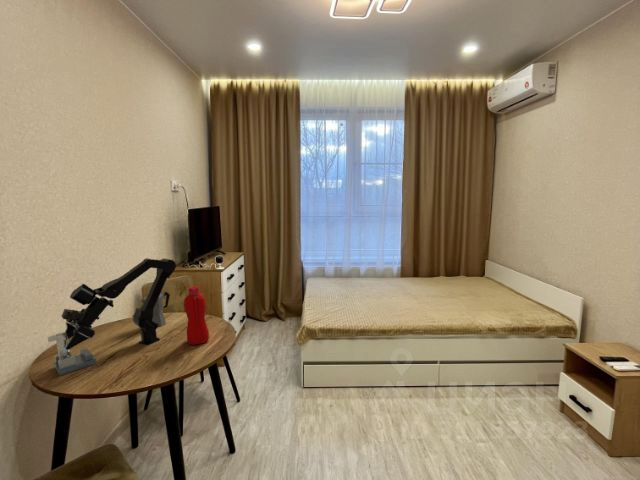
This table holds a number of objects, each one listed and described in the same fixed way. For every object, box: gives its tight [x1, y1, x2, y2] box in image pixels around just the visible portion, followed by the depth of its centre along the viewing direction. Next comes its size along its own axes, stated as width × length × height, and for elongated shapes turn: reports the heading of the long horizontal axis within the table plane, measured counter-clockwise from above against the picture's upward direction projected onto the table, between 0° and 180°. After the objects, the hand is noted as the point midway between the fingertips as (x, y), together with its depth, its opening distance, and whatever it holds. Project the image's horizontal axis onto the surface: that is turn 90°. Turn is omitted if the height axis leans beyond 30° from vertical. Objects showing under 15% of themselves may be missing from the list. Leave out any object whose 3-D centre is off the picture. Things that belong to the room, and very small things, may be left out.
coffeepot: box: [140, 291, 171, 328], centre depth 178 cm, size 15×9×18 cm, turn 147°
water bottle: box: [183, 286, 210, 346], centre depth 154 cm, size 9×11×25 cm
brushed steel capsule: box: [47, 331, 71, 360], centre depth 133 cm, size 6×4×12 cm, turn 137°
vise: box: [53, 348, 97, 376], centre depth 137 cm, size 12×10×5 cm
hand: (63, 345), depth 134 cm, fingers open, 9 cm apart
